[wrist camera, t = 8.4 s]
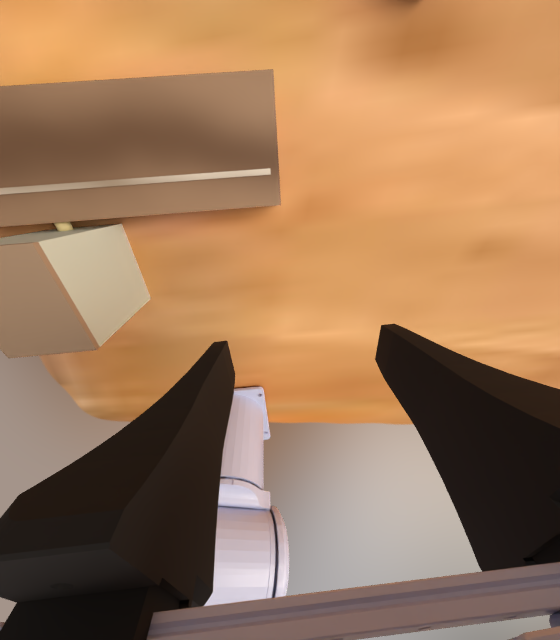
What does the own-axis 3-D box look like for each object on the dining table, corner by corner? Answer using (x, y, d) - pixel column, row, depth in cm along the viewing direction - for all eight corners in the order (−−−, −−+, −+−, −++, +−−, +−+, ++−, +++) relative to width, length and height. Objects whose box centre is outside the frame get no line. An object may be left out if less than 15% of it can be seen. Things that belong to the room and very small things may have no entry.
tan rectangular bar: (278, 203, 16) (280, 205, 14) (-4, 225, 16) (-48, 230, 13) (271, 89, 13) (273, 68, 11) (-78, 112, 13) (-151, 94, 10)
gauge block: (151, 298, 19) (96, 350, 13) (92, 303, 19) (8, 358, 13) (119, 216, 16) (24, 231, 10) (48, 221, 16) (-95, 240, 10)
